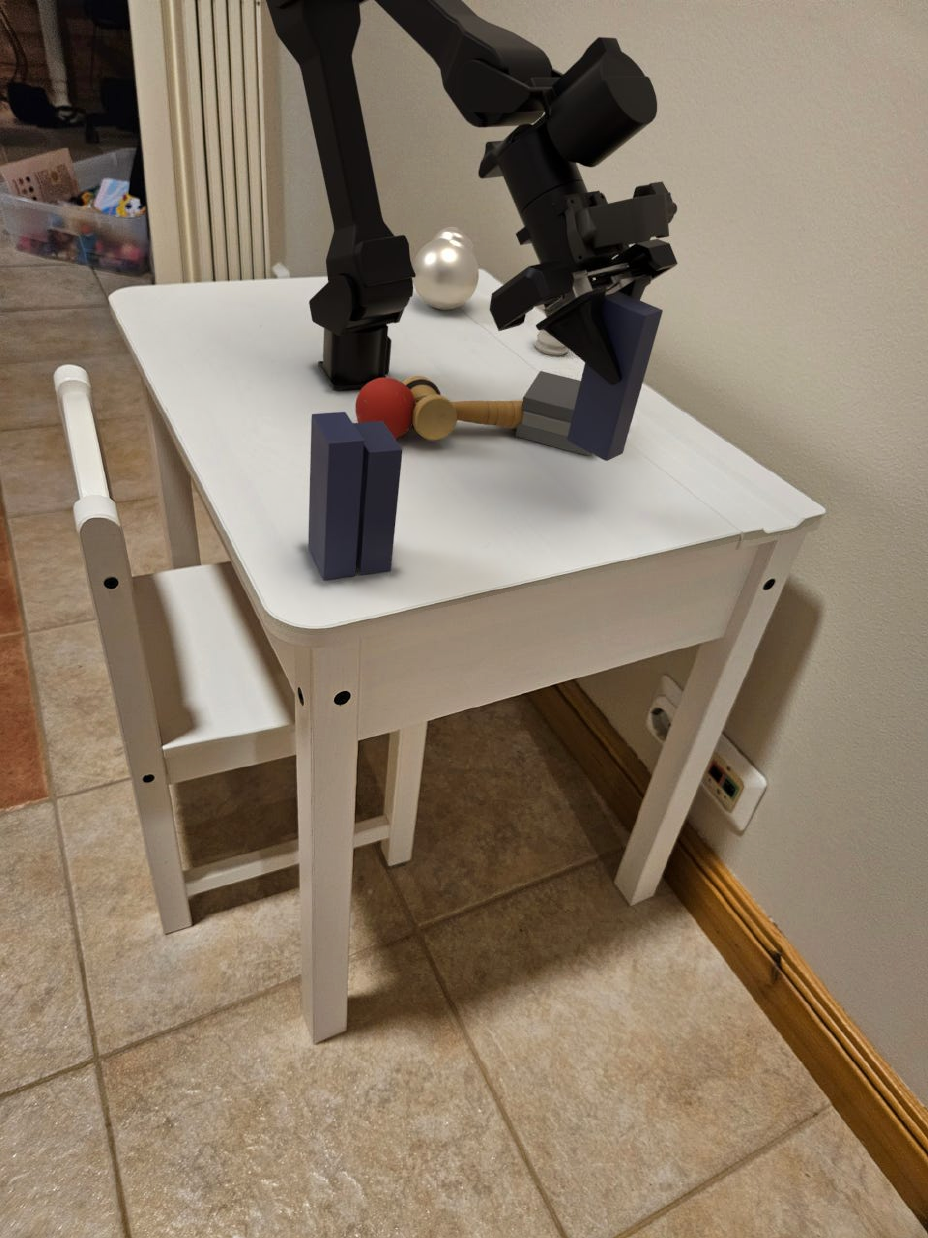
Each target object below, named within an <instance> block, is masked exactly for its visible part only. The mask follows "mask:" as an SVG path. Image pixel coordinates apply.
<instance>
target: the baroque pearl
mask: <svg viewBox="0 0 928 1238" xmlns="http://www.w3.org/2000/svg"><path fill="white" fill-rule="evenodd" d="M412 268H413V270H414V272H415V274H416V277H414V278H412V280H413V288H414V290H415V292H416V294H417V295H418V297H419V298H420V299H421V300H422V301H423V302H424V303H425V304H427V305H428V306H429V307H432V308H434V309H438V310H443V311H445V310H446V311H447V310H448V311H450V310H455V309H457V308H459V307H460V308H461V307H462V306H463V305H465V304H466V303H467V302H469V300H470V299H471V298H472V296H473V295H474V293H475V291H476V289H477V287H478V284H479V278H480V273H479V272H480V271H479V270H480V269H479V264H478V262H477V258H476V257H475V255H474V244H473V242H472V241H471V239H470V238H468V237H467V236H466V235H465V234H464V233H463V231H461V230H460V229H459V227H457V226H448V227H444V228H442V229H440V230H439V231H438V232H437V234H435V236H434V237H433V239H432V240H431V241H429V242H428V243H426V244H425V245H423V246H422V248H421V249H420V250H419V251H418V252H417V254H416V255H415V258H414V261H413V263H412Z"/></svg>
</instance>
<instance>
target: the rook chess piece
mask: <svg viewBox="0 0 928 1238" xmlns="http://www.w3.org/2000/svg"><path fill="white" fill-rule="evenodd" d="M536 338H537V339H536V341H535V342H534V344H535V347H536V349H537V350H538V351H539V352H541V353H543V354H545V355H549V356H563V355H566V354H567V353H568V351H570V349H568V348H567V347H566V346H564V345H563V344H562V343H560V342H559V341H558V340H556V339H555V338H554V337H553V336H551V335H550V334H549V333H547V332H546V331H544V330H540V331H539V332H537V334H536Z"/></svg>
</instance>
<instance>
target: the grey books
mask: <svg viewBox="0 0 928 1238" xmlns="http://www.w3.org/2000/svg"><path fill="white" fill-rule="evenodd" d="M580 382H581V380H578V379H574V378H571V377H566V376H563V375H559V374H556V373H555V374H554V373H551V372H547V371H543V370H540V371H539V372H538V373H537V375H536V377H535V378H534V380H533V381H532V383H531V384H530V386H529V387H528V389H527V390H526V392H525V393H524V395H523V397H522V400H521V401H522V406H521V410H523V411H524V413H523V419H522V423H518V425H517V429H515V431H516V432H515V437H516V438H520V439H524V440H528V441H531V442H535V443H538V444H543V445H546V446H550V447H554V448H556V449H557V448H558V449H560V450H565V451H569V452H571V453H577V454H580V455H584V456H588V457H589V456H590V455H591V453H590V452H588V451H586V450H584V449H582V448H581V447H579V446H577V445H575V444H573V443H571V442H569V441H567V437H568V433H569V429H570V425H571V420H572V416H573V412H574V408H575V403H576V399H577V395H578V390H579V386H580Z"/></svg>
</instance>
